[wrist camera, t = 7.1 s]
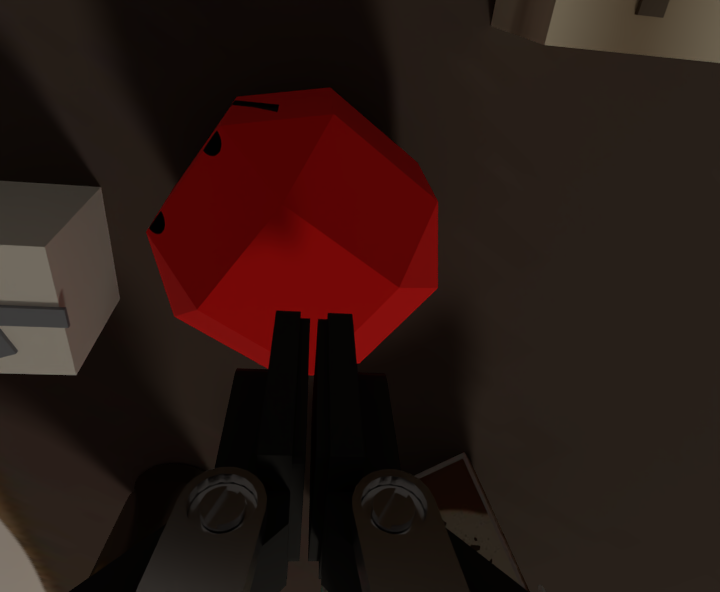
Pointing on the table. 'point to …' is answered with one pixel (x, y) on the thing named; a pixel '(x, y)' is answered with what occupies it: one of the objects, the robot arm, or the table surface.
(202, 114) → the table surface
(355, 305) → the ball
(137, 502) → the cup with straw
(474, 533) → the food container
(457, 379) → the table surface
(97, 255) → the off-white block numbered 7
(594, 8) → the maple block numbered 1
